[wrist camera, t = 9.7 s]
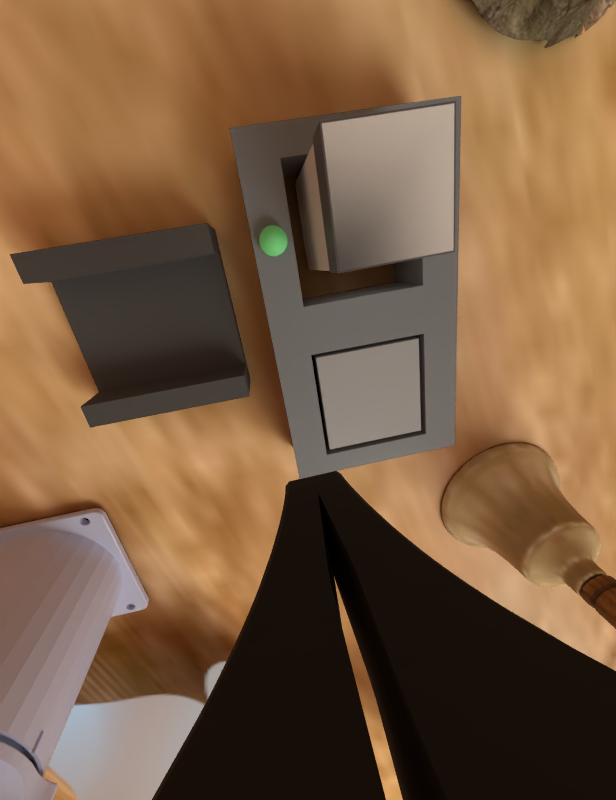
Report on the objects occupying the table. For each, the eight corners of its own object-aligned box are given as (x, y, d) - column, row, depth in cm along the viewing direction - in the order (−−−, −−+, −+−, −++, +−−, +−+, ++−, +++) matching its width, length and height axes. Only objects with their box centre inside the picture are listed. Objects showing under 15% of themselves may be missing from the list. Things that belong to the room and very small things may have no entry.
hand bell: (460, 439, 21) (967, 871, 6) (573, 444, 22) (1210, 803, 7) (426, 543, 23) (709, 1006, 9) (528, 542, 25) (917, 938, 10)
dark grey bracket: (112, 406, 17) (90, 427, 14) (48, 256, 14) (9, 254, 12) (250, 379, 17) (249, 396, 15) (214, 229, 14) (206, 223, 12)
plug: (307, 270, 16) (338, 273, 10) (293, 182, 14) (319, 121, 8) (380, 257, 16) (455, 252, 10) (374, 169, 15) (456, 100, 9)
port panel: (293, 448, 19) (300, 483, 16) (235, 156, 14) (228, 123, 10) (426, 420, 20) (459, 449, 16) (421, 128, 14) (467, 90, 11)
